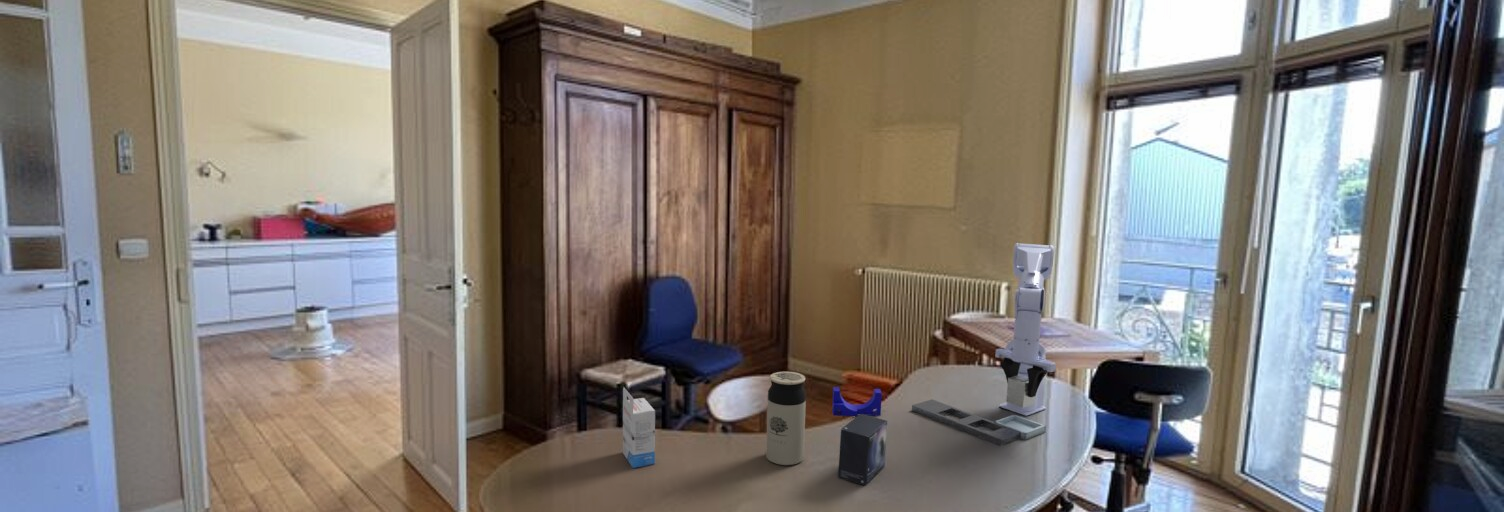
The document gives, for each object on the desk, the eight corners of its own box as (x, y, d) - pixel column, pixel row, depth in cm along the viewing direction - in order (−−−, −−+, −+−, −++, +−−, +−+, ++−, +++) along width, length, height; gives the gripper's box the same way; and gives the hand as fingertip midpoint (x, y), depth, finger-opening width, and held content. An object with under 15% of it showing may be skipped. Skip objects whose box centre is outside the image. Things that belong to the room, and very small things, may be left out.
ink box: (656, 464, 137) (656, 396, 135) (632, 468, 135) (632, 399, 133) (644, 448, 145) (644, 383, 143) (621, 452, 143) (621, 386, 141)
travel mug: (783, 447, 147) (786, 368, 145) (811, 458, 142) (814, 377, 139) (758, 457, 142) (760, 376, 139) (786, 470, 136) (788, 385, 134)
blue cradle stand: (833, 415, 167) (834, 392, 166) (832, 409, 172) (833, 387, 171) (881, 418, 166) (882, 395, 166) (879, 411, 171) (880, 389, 170)
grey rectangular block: (1017, 398, 162) (1019, 374, 162) (1034, 404, 159) (1036, 379, 158) (1006, 401, 160) (1008, 377, 159) (1022, 407, 156) (1025, 382, 155)
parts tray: (1013, 420, 166) (1013, 414, 166) (1045, 431, 160) (1045, 425, 159) (993, 427, 161) (993, 421, 161) (1025, 439, 155) (1026, 433, 154)
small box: (867, 487, 130) (869, 436, 128) (836, 478, 133) (838, 428, 132) (886, 467, 139) (889, 419, 137) (857, 459, 142) (859, 412, 141)
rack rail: (931, 404, 176) (932, 399, 176) (1021, 437, 156) (1021, 432, 155) (911, 410, 172) (912, 405, 172) (1001, 445, 151) (1001, 439, 151)
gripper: (989, 333, 161) (985, 387, 163) (1045, 347, 149) (1040, 405, 151) (1006, 329, 165) (1002, 382, 167) (1062, 343, 153) (1057, 399, 155)
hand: (1021, 393), depth 159 cm, fingers closed on grey rectangular block, 5 cm apart
